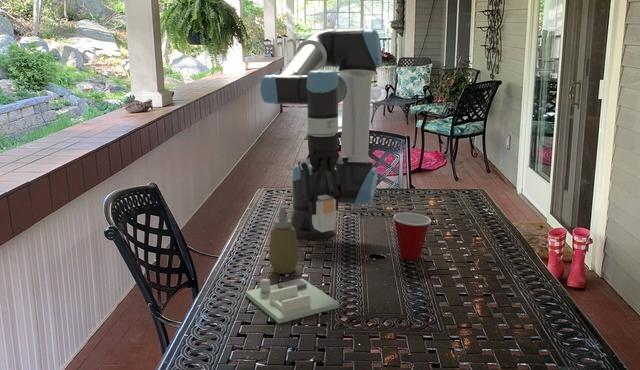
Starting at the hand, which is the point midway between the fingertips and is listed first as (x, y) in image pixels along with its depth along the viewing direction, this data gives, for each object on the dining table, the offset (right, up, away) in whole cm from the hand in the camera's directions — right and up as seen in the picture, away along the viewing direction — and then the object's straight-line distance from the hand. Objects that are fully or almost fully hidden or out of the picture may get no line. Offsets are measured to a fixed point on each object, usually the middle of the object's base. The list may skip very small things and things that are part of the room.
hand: (324, 224), depth 163 cm
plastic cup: (+25, -11, +21) cm, 35 cm away
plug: (0, -1, 0) cm, 1 cm away
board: (-8, -18, -8) cm, 21 cm away
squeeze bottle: (-11, -14, +12) cm, 21 cm away
